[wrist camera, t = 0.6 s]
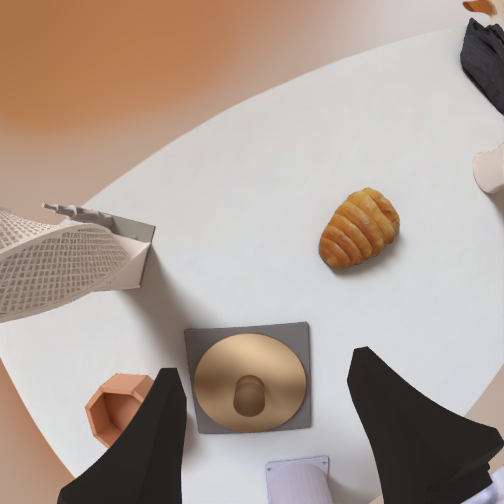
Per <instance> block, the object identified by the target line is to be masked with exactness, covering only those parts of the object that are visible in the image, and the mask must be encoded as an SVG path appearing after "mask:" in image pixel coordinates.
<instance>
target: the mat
mask: <svg viewBox="0 0 504 504" xmlns="http://www.w3.org/2000/svg"><path fill="white" fill-rule="evenodd" d="M242 333H258V334H263V335H267V336H270V337H273V338H275V339H277V340H279V341H281V342H283V343H284V344H285V345H287V346H288V347H289V348H290V349H291V350H292V351H293V352H294V353H295V354H296V356H297V357H298V359H299V360H300V362H301V365H302V367H303V369H304V373H305V377H306V390H305V395H304V398H303V401H302V403H301V405H300V407H299V408H298V410H297V411H296V412H295V414H294V415H293V416H292V417H291V418H290V419H288V420H287V421H286V422H284V423H283V424H281V425H279V426H277V427H275V428H273V429H270V430H267V431H262V432H269V431H281V430H291V429H300V428H308V427H310V383H309V348H308V324H307V322H298V323H288V324H276V325H263V326H249V327H233V328H214V329H188V330H185V331H184V334H185V342H186V350H187V358H188V366H189V373H190V380H191V387H192V394H193V400H194V406H195V413H196V419H197V424H198V430H199V433H203V434H224V433H246V432H239V431H234V430H231V429H228V428H226V427H224V426H222V425H220V424H218V423H217V422H215V421H214V420H213V419H211V418H210V417H209V416H208V415H207V414H206V413H205V412H204V410H203V409H202V407H201V406H200V404H199V402H198V400H197V397H196V394H195V389H194V377H195V372H196V369H197V366H198V364H199V362H200V360H201V359H202V357H203V355H204V354H205V353H206V352H207V350H208V349H210V348H211V347H212V346H213V345H214V344H216V343H217V342H218V341H220V340H222V339H224V338H227V337H229V336H232V335H236V334H242Z"/></svg>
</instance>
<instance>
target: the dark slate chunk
mask: <svg viewBox="0 0 504 504" xmlns="http://www.w3.org/2000/svg"><path fill="white" fill-rule="evenodd" d="M460 62H461V65H462V66H463V67H464V68H465V69H466V70H467V71H468V72H469V73H470V75H471V76H472V77H473V78H474V79H475V80H476V81H477V83H478V84H479V85H480V86H481V87H482V88H483V90H484V91H485V93H486V95H487V96H488V97H489V99H490V100H491V101H492V102H493V104H494V105H495V106H496V108H497V109H498V110H499V111H500V112H501V113H503V114H504V31H503V30H502V28H501V27H500V26H499V24H495V25H489V26H487V27H485V28H484V26H482V25H481V24H479V23H478V22H477V21H476V20H474V19H473V18H471V19H470V20H469V24H468V26H467V30H466V33H465V37H464V43H463V49H462V51H461V53H460Z"/></svg>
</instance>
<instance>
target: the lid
mask: <svg viewBox="0 0 504 504" xmlns="http://www.w3.org/2000/svg"><path fill="white" fill-rule="evenodd" d="M194 389H195V394H196V397H197V400H198V402H199V404H200V406H201V407H202V409H203V410H204V412H205V413H206V414H207V415H208V416H209V417H210V418H211V419H213V420H214V421H215V422H217V423H218V424H220V425H222V426H224V427H226V428H228V429H231V430H234V431H239V432H246V433H255V432H262V431H267V430H270V429H273V428H275V427H277V426H279V425H281V424H283V423H284V422H286V421H287V420H288V419H290V418H291V417H292V416H293V415H294V414H295V412H296V411H297V410H298V408H299V407H300V405H301V403H302V401H303V398H304V395H305V390H306V377H305V373H304V369H303V367H302V365H301V362H300V360H299V359H298V357H297V356H296V354H295V353H294V352H293V351H292V350H291V349H290V348H289V347H288V346H287V345H285V344H284V343H283V342H281V341H279V340H277V339H275V338H273V337H270V336H267V335H263V334H258V333H242V334H236V335H232V336H229V337H227V338H224V339H222V340H220V341H218V342H217V343H216V344H214V345H213V346H212V347H211V348H210V349H208V350H207V352H206V353H205V354H204V355H203V357H202V359H201V360H200V362H199V364H198V366H197V369H196V372H195V377H194Z"/></svg>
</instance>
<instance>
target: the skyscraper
mask: <svg viewBox="0 0 504 504" xmlns="http://www.w3.org/2000/svg"><path fill="white" fill-rule="evenodd" d="M42 207H44V208H48V209H52V212H54V213H59V214H63V215H65V216H66V219H69V220H74V221H78V222H83V223H75V224H69V225H65V226H57V225H48V224H43V223H38V222H33V221H29V220H26V219H23V218H21V217H20V216H18V215H16V214H15V213H13V212H11V211H10V210H8V209H6V208H4V207H2V206H0V323H2V322H7V321H11V320H16V319H21V318H25V317H28V316H32V315H36V314H40V313H43V312H46V311H49V310H52V309H55V308H58V307H60V306H63V305H65V304H68V303H70V302H72V301H75V300H77V299H79V298H81V297H83V296H85V295H87V294H89V293H91V292H97V291H111V290H122V289H133V288H141V283H142V278H143V274H144V269H145V265H146V261H147V257H148V253H149V248H150V245H151V240H152V237H153V233H154V229H155V226H153V225H149V224H145V223H141V222H137V221H133V220H129V219H125V218H122V217H118V216H114V215H110V214H106V213H101V212H98V211H95V210H87V209H84V208H81V207H77V206H74V205H69V206H68V207H64V206H61V205H57V204H54V205H53V206H52V205H48V204H44V203H43V204H42Z"/></svg>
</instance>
